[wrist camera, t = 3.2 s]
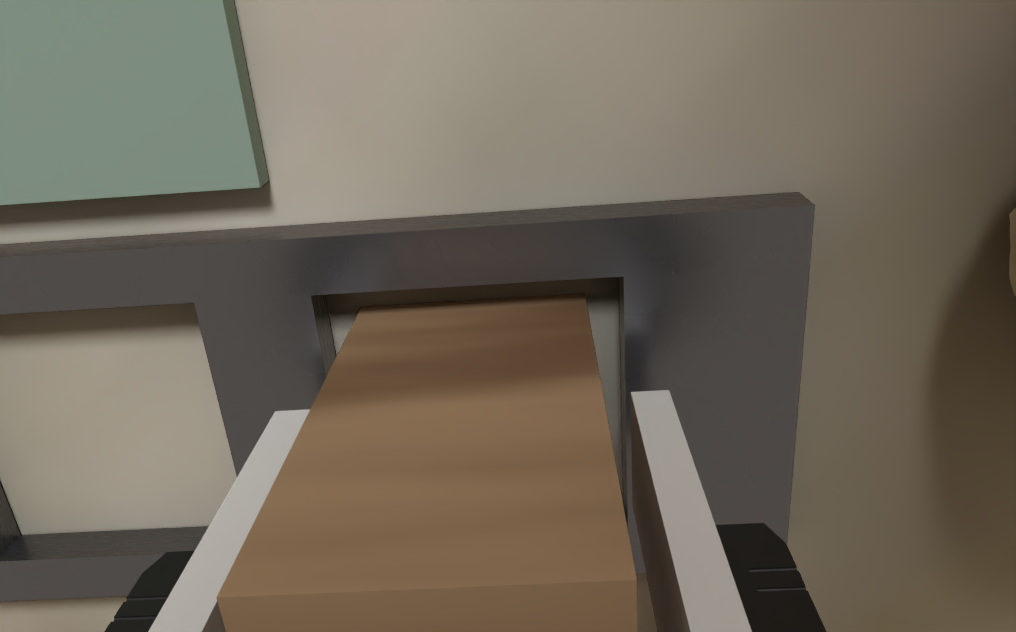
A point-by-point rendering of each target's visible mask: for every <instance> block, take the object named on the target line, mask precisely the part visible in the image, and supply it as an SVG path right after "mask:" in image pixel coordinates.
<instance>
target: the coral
mask: <svg viewBox="0 0 1016 632" xmlns="http://www.w3.org/2000/svg"><path fill="white" fill-rule="evenodd" d="M1009 217H1010V246H1011V249H1010V260H1009V262H1010V265H1009V278H1010V282H1011V287H1012V290H1013V292H1014V294H1015V297H1016V207H1015V208H1014V210H1013V211H1012V212H1011V213H1010V214H1009Z"/></svg>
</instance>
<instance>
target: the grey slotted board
mask: <svg viewBox="0 0 1016 632" xmlns="http://www.w3.org/2000/svg"><path fill="white" fill-rule="evenodd" d="M814 209H815V205H814V204H813V203H812V202H810V201H809V200H808V199H807V198H805V197H804V196H803V195H802V194H800V193H799V192H793V193H778V194H762V195H747V196H732V197H717V198H701V199H686V200H671V201H656V202H640V203H625V204H610V205H595V206H579V207H564V208H549V209H534V210H518V211H503V212H488V213H473V214H457V215H442V216H427V217H412V218H396V219H381V220H366V221H351V222H335V223H320V224H305V225H290V226H274V227H259V228H244V229H229V230H213V231H198V232H183V233H167V234H152V235H137V236H122V237H106V238H91V239H76V240H61V241H45V242H30V243H15V244H0V314H16V313H33V312H49V311H66V310H82V309H98V308H115V307H131V306H147V305H164V304H180V303H194V306H195V310H196V314H197V318H198V322H199V326H200V330H201V334H202V338H203V342H204V346H205V350H206V354H207V358H208V362H209V366H210V370H211V374H212V378H213V382H214V386H215V390H216V394H217V398H218V402H219V406H220V410H221V414H222V418H223V422H224V426H225V430H226V434H227V438H228V442H229V446H230V450H231V454H232V458H233V462H234V466H235V470H236V474H237V477H238V475H239V473H240V471H241V470H242V468H243V466H244V464H245V463H246V461H247V459H248V458H249V456H250V454H251V452H252V451H253V449H254V447H255V445H256V444H257V442H258V440H259V438H260V437H261V435H262V433H263V431H264V430H265V428H266V426H267V425H268V423H269V421H270V419H271V418H272V416H273V414H274V412H275V411H288V410H306V409H311V407H312V405H313V403H314V401H315V399H316V397H317V395H318V393H319V391H320V389H321V387H322V385H323V383H324V381H325V379H326V377H327V375H328V373H329V371H330V369H331V367H332V365H333V363H334V361H335V359H336V353H335V348H334V342H333V337H332V331H331V325H330V320H329V314H328V308H327V303H326V297H325V295H328V294H344V293H360V292H377V291H393V290H409V289H426V288H442V287H459V286H475V285H491V284H508V283H524V282H540V281H557V280H573V279H590V278H606V277H619V313H620V365H621V417H622V468H623V506H624V512H625V517H626V523H627V528H628V534H629V539H630V545H631V550H632V556H633V561H634V567H635V572H636V574H646V570H645V565H644V560H643V555H642V550H641V545H640V540H639V535H638V530H637V525H636V520H635V515H634V510H633V505H632V447H631V392H640V391H659V390H669V391H670V394H671V397H672V400H673V403H674V406H675V409H676V412H677V415H678V418H679V421H680V423H681V426H682V429H683V432H684V435H685V438H686V441H687V444H688V447H689V450H690V453H691V456H692V458H693V461H694V464H695V467H696V470H697V473H698V476H699V479H700V482H701V485H702V488H703V490H704V493H705V496H706V499H707V502H708V505H709V508H710V511H711V514H712V517H713V520H714V523H715V525H725V524H747V523H764V524H766V525H767V526H768V527H769V528H770V529H771V530H772V531H773V532H774V533H775V534H777V535H778V536H779V537H780V538H781V539H782V540H783V541H784V542H785V543H786V545H787V538H788V525H789V513H790V501H791V489H792V477H793V464H794V452H795V440H796V428H797V416H798V404H799V391H800V379H801V367H802V355H803V343H804V330H805V318H806V306H807V294H808V282H809V270H810V257H811V245H812V233H813V221H814ZM208 527H209V526H206V527H185V528H164V529H142V530H121V531H100V532H78V533H57V534H36V535H20V533H19V530H18V528H17V525H16V522H15V520H14V517H13V515H12V512H11V510H10V507H9V505H8V502H7V499H6V497H5V494H4V492H3V489H2V487H1V484H0V601H21V600H44V599H68V598H91V597H115V596H128V594H129V593H130V591H131V590H132V588H133V587H134V585H135V584H136V582H137V580H138V579H139V577H140V576H141V574H142V573H143V572H144V571H145V570H147V569H148V568H149V567H150V566H151V565H152V564H154V563H155V562H156V561H157V560H158V559H159V558H161V557H162V556H163V555H164V554H165V553H166V552H175V551H195V550H196V548H197V546H198V544H199V543H200V541H201V539H202V537H203V536H204V534H205V532H206V530H207V529H208Z"/></svg>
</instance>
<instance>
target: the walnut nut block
mask: <svg viewBox="0 0 1016 632" xmlns="http://www.w3.org/2000/svg"><path fill="white" fill-rule="evenodd" d="M216 598H217V602H218V605H219V609H220V612H221V616H222V619H223V623H224V626H225V630H226V632H637V578H636V572H635V567H634V561H633V556H632V550H631V545H630V539H629V534H628V528H627V523H626V517H625V512H624V506H623V501H622V495H621V490H620V484H619V479H618V473H617V468H616V462H615V457H614V451H613V446H612V440H611V435H610V429H609V424H608V418H607V413H606V407H605V402H604V396H603V391H602V385H601V380H600V374H599V369H598V363H597V358H596V352H595V347H594V341H593V336H592V330H591V325H590V319H589V314H588V308H587V303H586V297H585V294H570V295H553V296H537V297H520V298H503V299H487V300H470V301H453V302H437V303H420V304H404V305H387V306H370V307H361V309H360V311H359V313H358V315H357V317H356V319H355V321H354V323H353V325H352V327H351V329H350V331H349V333H348V335H347V337H346V339H345V341H344V343H343V345H342V347H341V349H340V351H339V353H338V355H337V357H336V359H335V361H334V363H333V365H332V367H331V369H330V371H329V373H328V375H327V377H326V379H325V381H324V383H323V385H322V387H321V389H320V391H319V393H318V395H317V397H316V399H315V401H314V403H313V405H312V407H311V409H310V411H309V413H308V415H307V417H306V419H305V421H304V423H303V425H302V427H301V429H300V431H299V433H298V435H297V437H296V439H295V441H294V443H293V445H292V447H291V449H290V451H289V453H288V455H287V457H286V459H285V461H284V463H283V465H282V467H281V469H280V471H279V473H278V475H277V477H276V479H275V481H274V483H273V485H272V487H271V489H270V491H269V493H268V495H267V497H266V499H265V501H264V503H263V505H262V507H261V509H260V511H259V513H258V515H257V517H256V519H255V521H254V523H253V525H252V527H251V529H250V531H249V533H248V535H247V537H246V539H245V541H244V543H243V545H242V547H241V549H240V551H239V553H238V555H237V557H236V559H235V561H234V563H233V565H232V567H231V569H230V571H229V573H228V575H227V577H226V579H225V581H224V583H223V585H222V587H221V589H220V591H219V593H218V595H217V597H216Z"/></svg>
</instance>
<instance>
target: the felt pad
mask: <svg viewBox="0 0 1016 632" xmlns="http://www.w3.org/2000/svg"><path fill="white" fill-rule="evenodd" d="M268 181H269V178H268V172H267V167H266V162H265V157H264V152H263V147H262V142H261V137H260V132H259V126H258V121H257V116H256V111H255V106H254V101H253V96H252V91H251V86H250V81H249V75H248V70H247V65H246V60H245V55H244V50H243V45H242V40H241V35H240V29H239V24H238V19H237V14H236V9H235V4H234V0H0V205H10V204H25V203H39V202H54V201H69V200H83V199H98V198H113V197H127V196H142V195H157V194H171V193H186V192H201V191H216V190H230V189H245V188H260V187H261V186H263V185H264V184H265V183H266V182H268Z"/></svg>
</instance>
